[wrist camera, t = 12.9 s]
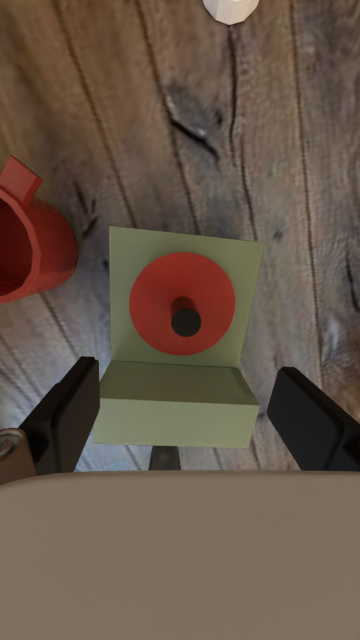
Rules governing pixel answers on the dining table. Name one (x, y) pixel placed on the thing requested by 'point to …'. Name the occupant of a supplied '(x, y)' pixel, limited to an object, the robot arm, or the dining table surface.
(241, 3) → the white cup
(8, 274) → the pot
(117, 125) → the dining table surface
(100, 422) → the green step stand
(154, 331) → the lid
